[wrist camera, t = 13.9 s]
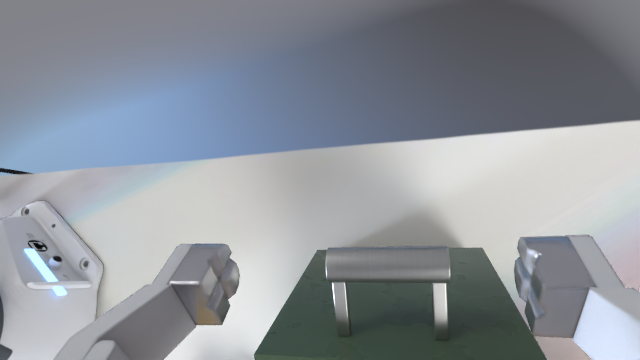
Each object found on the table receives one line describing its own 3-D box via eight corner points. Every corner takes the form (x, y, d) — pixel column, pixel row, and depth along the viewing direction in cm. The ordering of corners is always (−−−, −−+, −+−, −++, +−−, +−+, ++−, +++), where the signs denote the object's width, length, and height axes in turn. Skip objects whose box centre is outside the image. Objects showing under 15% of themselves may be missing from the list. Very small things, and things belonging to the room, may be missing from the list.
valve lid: (554, 387, 16) (555, 264, 15) (255, 368, 19) (241, 266, 18) (482, 256, 30) (480, 189, 29) (318, 258, 33) (312, 197, 32)
